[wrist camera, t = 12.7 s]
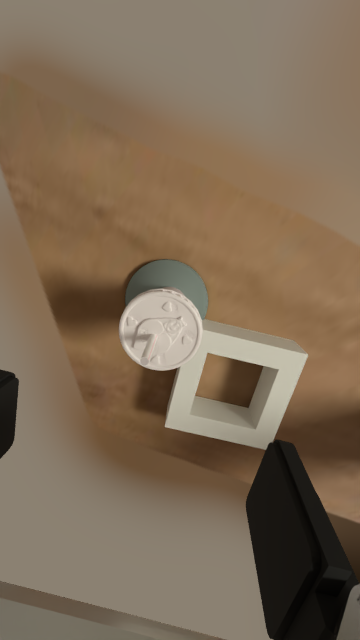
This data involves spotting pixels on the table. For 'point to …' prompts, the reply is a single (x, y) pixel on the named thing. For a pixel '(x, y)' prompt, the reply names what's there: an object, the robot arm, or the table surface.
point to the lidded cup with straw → (161, 329)
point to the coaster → (169, 282)
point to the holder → (268, 399)
